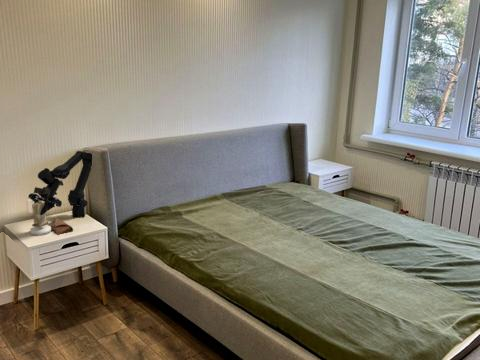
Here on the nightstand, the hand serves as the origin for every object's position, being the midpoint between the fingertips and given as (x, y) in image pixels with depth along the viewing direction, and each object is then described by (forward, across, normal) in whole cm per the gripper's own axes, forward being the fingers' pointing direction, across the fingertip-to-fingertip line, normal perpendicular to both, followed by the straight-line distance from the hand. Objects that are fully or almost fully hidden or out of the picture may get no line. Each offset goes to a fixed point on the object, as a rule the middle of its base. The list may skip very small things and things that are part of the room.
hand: (37, 214), depth 240 cm
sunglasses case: (+2, +5, +14) cm, 15 cm away
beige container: (+4, 0, +6) cm, 7 cm away
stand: (+6, 0, +8) cm, 11 cm away
